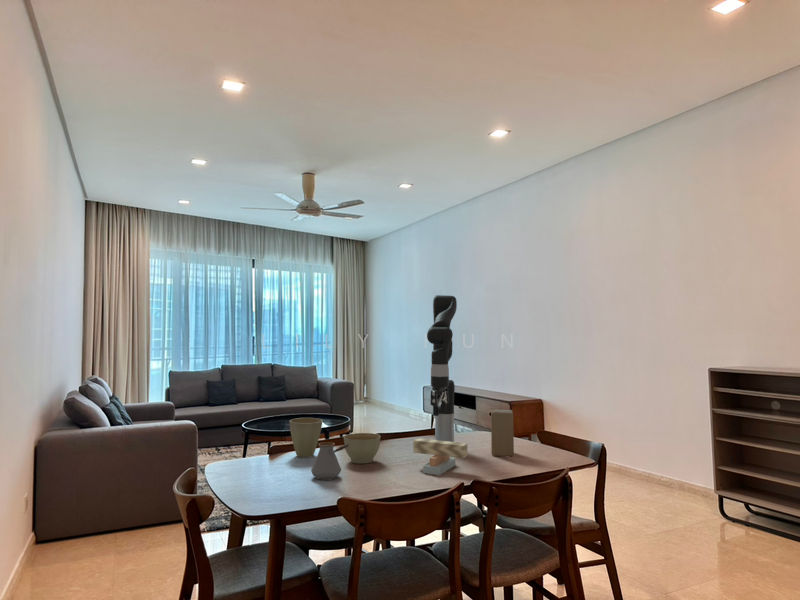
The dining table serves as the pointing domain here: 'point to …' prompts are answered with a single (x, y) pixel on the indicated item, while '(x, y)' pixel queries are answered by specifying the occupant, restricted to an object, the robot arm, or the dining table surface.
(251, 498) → the dining table surface
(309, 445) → the plant pot
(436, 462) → the fulcrum
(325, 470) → the coffee pot
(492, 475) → the dining table surface
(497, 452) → the wooden block
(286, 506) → the dining table surface
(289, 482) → the dining table surface
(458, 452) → the batten
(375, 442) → the planter bowl
